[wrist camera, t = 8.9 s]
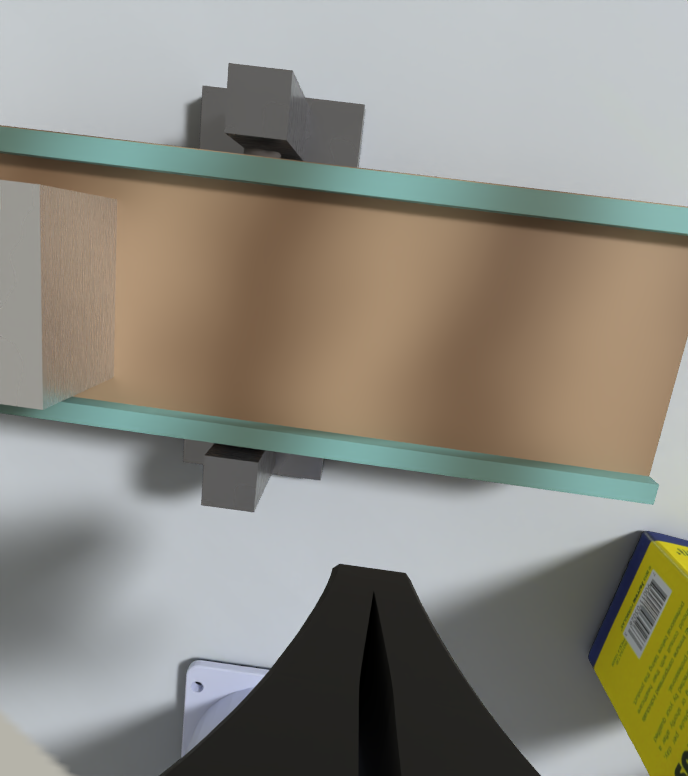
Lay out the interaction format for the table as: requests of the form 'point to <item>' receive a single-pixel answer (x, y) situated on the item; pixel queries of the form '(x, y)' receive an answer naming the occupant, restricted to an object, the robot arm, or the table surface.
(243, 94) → the beam stand
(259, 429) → the balance beam
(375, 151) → the table surface
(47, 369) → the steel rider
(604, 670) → the supplement box
